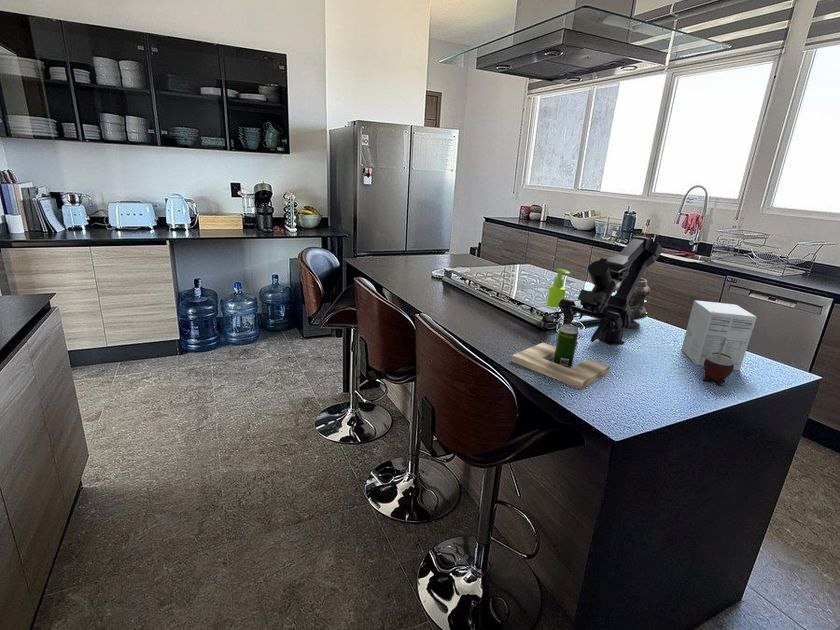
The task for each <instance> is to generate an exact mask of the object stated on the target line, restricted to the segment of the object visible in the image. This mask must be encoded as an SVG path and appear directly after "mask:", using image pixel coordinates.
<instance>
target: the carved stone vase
mask: <svg viewBox="0 0 840 630" xmlns="http://www.w3.org/2000/svg"><path fill="white" fill-rule="evenodd" d="M647 282H648V280H647V279H646V278H643V277H641V279H640V281H639V283H638V284H637V286H636V288H635V290H634V292H633V294H632V296H631V298H630V300H629V302H628V303H629V309H630V311H629V314H630V318H631V322H630V325H629V328H628V329H638V328H640V327H641V324H640V323H639V322H638V321H636V320H638V319H641V318H643V317H645V316H646V314H647V310H646V307H645V306H644V305H645V298H646V296H648V295H649V294H650V292H651V288H650V287H649V286H648V283H647ZM621 283H622V281H618V282H617V283H616V291H617V290H618V289H619V287H620V285H621Z"/></svg>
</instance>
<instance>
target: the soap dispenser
mask: <svg viewBox="0 0 840 630" xmlns="http://www.w3.org/2000/svg"><path fill="white" fill-rule="evenodd" d="M555 270H556V271H557V274H556V275H557V276H554V280H553V284H551V285H549V288H548V295H547V302H546V306H550V307H559V305H558V304H559V302H560V300H562V299H565V296H566V290H567V288H566V287H565V286H564V280H565V278H564V277H563V273H564V274H565V275H568V274H569V275H570V273H571V272H570V270H569V271H568V270H567V269H564V268H556V269H555Z"/></svg>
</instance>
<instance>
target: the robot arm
mask: <svg viewBox="0 0 840 630" xmlns="http://www.w3.org/2000/svg"><path fill="white" fill-rule="evenodd" d="M662 247H663V246H661V245H660V243H659V242H656V241H654V240H652V239H650V238H649V237H646V236H640V235H633V236H632V237H631V240H630V242H628V244H627V245H625V247H624V248H623V249H622V250H621V251H620V252H619V253H618V254H617V255H614V256H610V257H608V258H604V257H600V259H599V260H595V261H593V262H592V263H590V264H589V265H588V267H587V270H588V271H587V272H588V274H589V277H590V280H591V283H592V284H593V288H592V289H591V290H588V289H587V290H586V289H584V288H583V289H580V292H579V295H578V297H577V301H580V304H579V305H580V306H577V305H576V303H575V301H574V300H572V299H567V298H564V299H562V300H560V302H559V304H558V305H559V307H560V309H561V312H562V315H563V322H562V324H569V325H572V322H573V320H574V316H575V315H576V314H580V315H581V316H582V315H583V316H587V317H590V318H594V319H596V320H599V324H598V326H597V328H596V329H595V331H594V333H593V334H592V336H591V339H590V343H593V342H594V341H596V340H600V341H602V342H604V343H605V344H608V345H621V344H625V343H626V342H625V341H623V340H622V339H623V334H624V330H625V329H630V328H629V325H630V322H631V318H630V314H629V311H630V309H629V303H628V302H629V300H630V298H631V296H632V294H633V292H634V290H635V288H636V286H637V284H638V283H639V281H640V279H641V278H643V275H644V273H645V270H646V269H647V268H648V267H649V266H652V265H653V264H654V263H656V261H657V259H658V258H659V257H660V256H661V254H662V250H663V248H662ZM615 281H617V282H621V281H622V283H621V285H620V287H619V289H618V290H616V285H617V283H616V282H615ZM613 293H614V294H613ZM581 306H582V307H581Z"/></svg>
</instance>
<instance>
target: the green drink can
mask: <svg viewBox="0 0 840 630" xmlns="http://www.w3.org/2000/svg"><path fill="white" fill-rule="evenodd" d="M578 336H579V328H578V326H576V325H573V324H570V325H569V324H563V323H562V324H560V325H559V328H558V332H557V338H556V344H555V347H556V349H555V355H554V358H553V362H554V363H556V364H559V365H562V366H564V367H567V368H569V369H570V368H572V367H573V363H574V357H575V353H576V348H577V343H578Z"/></svg>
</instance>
